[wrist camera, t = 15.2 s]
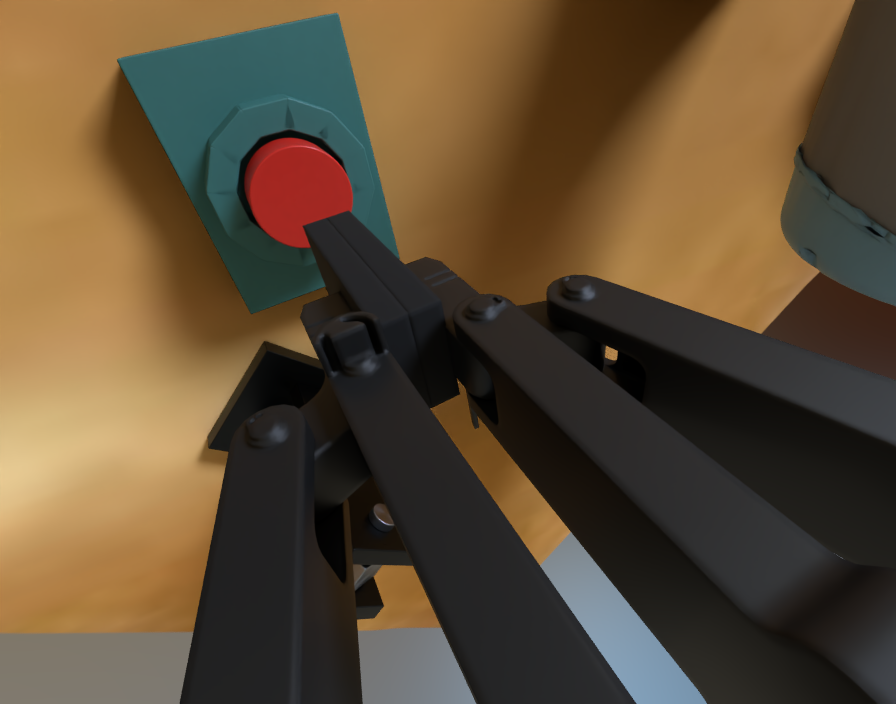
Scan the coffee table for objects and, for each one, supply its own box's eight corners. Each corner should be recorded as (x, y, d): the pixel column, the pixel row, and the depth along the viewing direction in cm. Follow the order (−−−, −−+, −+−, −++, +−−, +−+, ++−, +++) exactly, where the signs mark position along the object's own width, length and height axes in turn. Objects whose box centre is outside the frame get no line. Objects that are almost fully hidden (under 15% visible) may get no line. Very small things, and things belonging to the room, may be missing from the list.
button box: (121, 57, 19) (110, 60, 16) (326, 14, 21) (349, 10, 18) (246, 297, 26) (255, 330, 23) (387, 246, 29) (411, 270, 26)
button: (225, 152, 19) (229, 162, 18) (324, 125, 20) (335, 132, 19) (267, 246, 22) (274, 262, 20) (352, 218, 23) (364, 230, 22)
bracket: (388, 384, 35) (480, 534, 24) (335, 461, 36) (399, 633, 26) (264, 340, 28) (314, 520, 18) (207, 436, 30) (222, 651, 19)
